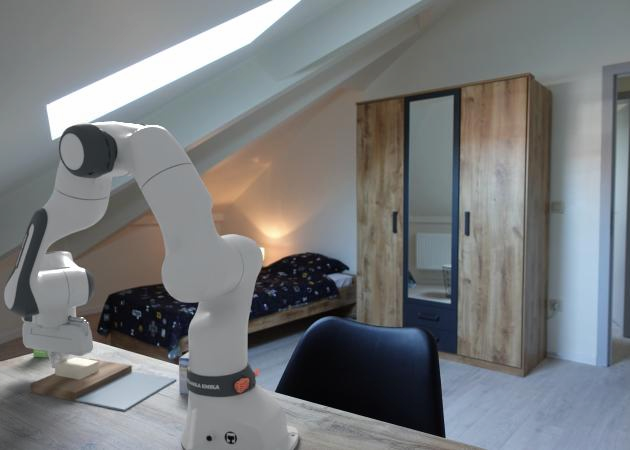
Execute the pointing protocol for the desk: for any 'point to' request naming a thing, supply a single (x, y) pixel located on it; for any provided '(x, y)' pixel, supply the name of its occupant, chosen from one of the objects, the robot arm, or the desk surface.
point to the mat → (126, 391)
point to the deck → (79, 381)
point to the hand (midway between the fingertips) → (58, 367)
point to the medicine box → (183, 373)
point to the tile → (76, 368)
